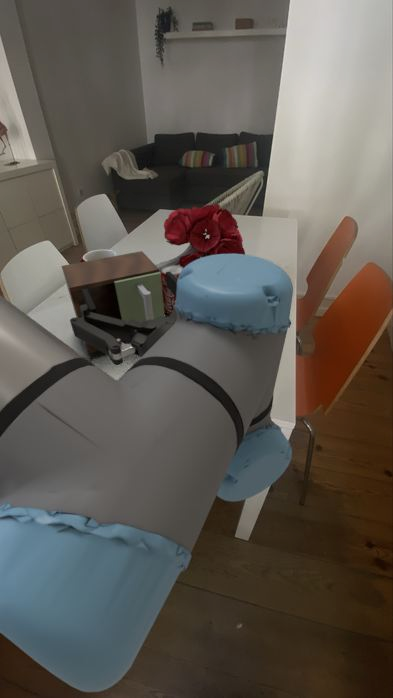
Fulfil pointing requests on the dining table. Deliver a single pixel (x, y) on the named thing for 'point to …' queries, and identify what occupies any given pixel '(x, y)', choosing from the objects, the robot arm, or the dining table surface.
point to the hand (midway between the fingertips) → (129, 287)
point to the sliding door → (140, 297)
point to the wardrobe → (104, 283)
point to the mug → (98, 255)
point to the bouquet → (191, 229)
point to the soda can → (167, 294)
